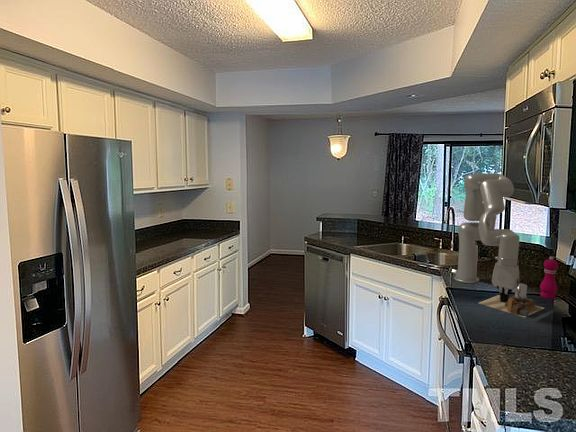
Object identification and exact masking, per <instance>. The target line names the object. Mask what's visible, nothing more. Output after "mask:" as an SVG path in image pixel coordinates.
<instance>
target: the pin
mask: <svg viewBox="0 0 576 432" xmlns="http://www.w3.org/2000/svg"><path fill="white" fill-rule="evenodd" d="M509 298H510V297H509ZM514 303H515V299H512V298H510V299H508V309H507V310H508V311H512V306H513V305H514ZM518 313H519V314H522V315H525V316H527V315H529V311H528V310H524V309H521V308H518ZM529 316H530V315H529ZM527 317H528V316H527Z"/></svg>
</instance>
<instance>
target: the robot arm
mask: <svg viewBox="0 0 576 432" xmlns="http://www.w3.org/2000/svg"><path fill="white" fill-rule="evenodd" d="M463 183H464V184H463V185H464V191H465V198H464V206H463V207H464V209H463V217H464V220H466V221H469V222H463V223H461V224H460V225H459V226H458V227H457V228H458V231H457V233H458V260H457V261H458V262H457V268H456V269H455V268H452V269H451V273H452V274H455V276H453V279H454V280H455V281H457V282H459V283H462V284H463V283H464V284H477V283H479V282H480V278H479V277H477V273H478V257H479V248H478V246H477V244H476V243H475V241H480V242H481V243H482V244H483V245H484V246H486V247H487V246H488V247H490V246H491V247H492V246H493V247H498V254H497V255H498V256H497V255H496V256H495V259H494V260H497V261H496V262H495V263H494V267H493V271H492V277H491V283H492V286H493V287H495V288H497V289H498V292H499V293H500V294H499V295H500V302H503V303H505V302H507V301H508V299H509V298H510V296H509V295H510V293H515V292H517V291H518V286H519V283H520V269H519V267H520V266H519V265H518V259H519V249H520V236H519V234H518V233H515V232H514V230H512V229H508V228H503V229H502V228H495V227H496V222H497V221H496V220H497V215H500V214H501V213H503V212H504V211H505V210H506V206H505V202H504V198H509V197H511V196H513V194H514V191H515V188H514V187H515V186H514V184H513V182H512V181H511V179H509V178H508V177H506V176H504V175H503V174H501V173H482V172H481V173H471V174H467V175H466V176H465V178H464V182H463ZM470 221H471V222H470Z"/></svg>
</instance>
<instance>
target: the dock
mask: <svg viewBox="0 0 576 432" xmlns="http://www.w3.org/2000/svg"><path fill="white" fill-rule="evenodd" d="M510 298H512V299H515V295H513V296H509V299H510ZM478 304H480V305H483V306H486V307H490V308H492V309H496V310H498V311H499V310H500V311H502V312H505V313H509V314H512V315H515V316H517V317H518V316H519V317H521V318H526V317H529V316H531V315H533V314H536V313H537V312H540V311H542V310H544V309H545V307H543V306H539V305H536V300H533V299H530V298H527V297H526V303H524V304H523V303H520V302H516V301H515V303H514V305H513V306H512V311H508V310H507V309H508V301H507V302H505V303H503V302H500V294H497V295H495V296H492V297H490V298H487V299H485V300H482V301H479V302H478ZM518 308H521V309H524V310H528V311H529V315H527V316H525V315H522V314H519V313H518Z"/></svg>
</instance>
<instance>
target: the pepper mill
mask: <svg viewBox="0 0 576 432" xmlns="http://www.w3.org/2000/svg"><path fill="white" fill-rule="evenodd" d="M543 267H544V271H543V272H544V278H543V280H542V281H541V283H540V285H539V289H540V297H541V298H544V299H547V300H548V299H549V300H550V299H552V300H553V299H555V298H556V295H557V294H556V292H557V291H558V284H557V281H556V279H555V277H556V274H557V269H558V268H559V262H557V260H555V259H554V256H549V257H548V259H545V260H544V262H543Z"/></svg>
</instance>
